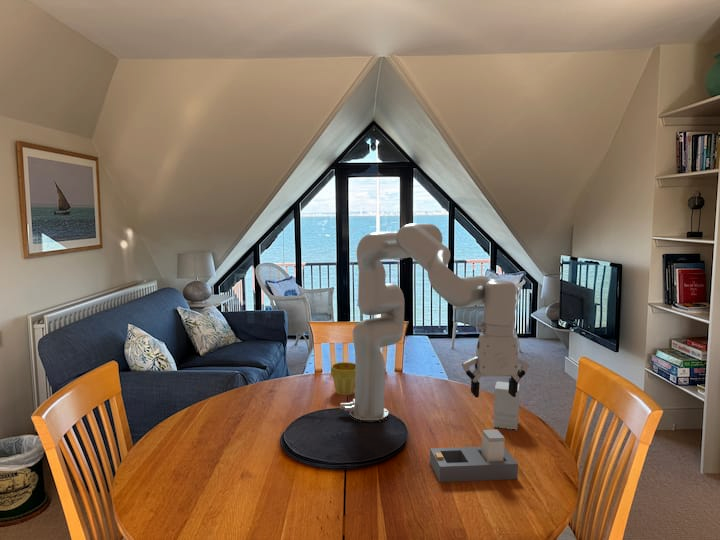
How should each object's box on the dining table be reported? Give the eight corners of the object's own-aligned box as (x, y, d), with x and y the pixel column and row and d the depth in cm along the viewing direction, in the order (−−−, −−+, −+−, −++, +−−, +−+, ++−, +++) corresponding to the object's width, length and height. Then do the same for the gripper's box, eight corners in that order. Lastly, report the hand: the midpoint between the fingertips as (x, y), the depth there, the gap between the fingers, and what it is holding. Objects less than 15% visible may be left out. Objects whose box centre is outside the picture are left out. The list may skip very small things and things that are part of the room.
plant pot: (359, 397, 188) (359, 370, 186) (329, 396, 188) (330, 370, 187) (359, 387, 198) (360, 362, 197) (331, 387, 198) (332, 361, 197)
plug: (487, 476, 134) (489, 438, 133) (480, 466, 139) (482, 429, 138) (502, 475, 135) (504, 437, 133) (495, 465, 140) (497, 429, 138)
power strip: (439, 482, 131) (440, 464, 130) (429, 462, 141) (430, 446, 140) (517, 479, 133) (518, 461, 132) (502, 460, 143) (503, 443, 142)
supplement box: (518, 421, 169) (520, 383, 167) (517, 430, 162) (519, 390, 160) (494, 418, 171) (496, 380, 170) (492, 427, 164) (494, 387, 163)
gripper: (469, 333, 128) (465, 401, 130) (537, 333, 130) (532, 400, 132) (459, 326, 136) (456, 390, 138) (524, 326, 138) (520, 389, 140)
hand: (493, 395), depth 135 cm, fingers open, 9 cm apart
